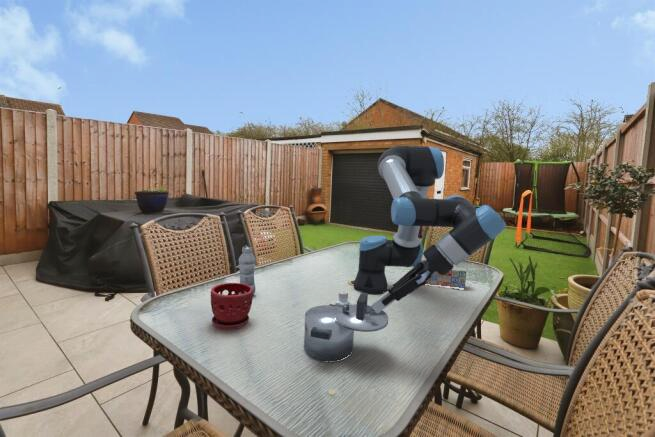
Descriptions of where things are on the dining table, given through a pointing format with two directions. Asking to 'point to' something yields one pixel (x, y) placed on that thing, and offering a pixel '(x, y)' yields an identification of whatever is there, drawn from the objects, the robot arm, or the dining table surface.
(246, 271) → the plastic bottle
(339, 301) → the salt shaker
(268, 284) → the dining table surface
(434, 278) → the stack of blocks
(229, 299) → the plant pot
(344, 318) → the lid
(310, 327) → the pot
